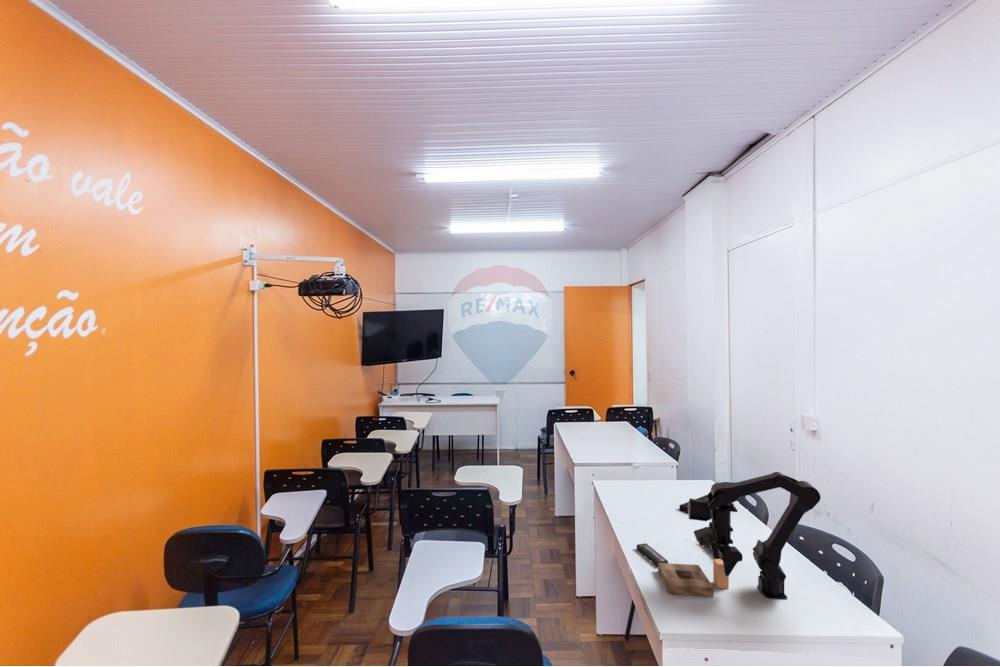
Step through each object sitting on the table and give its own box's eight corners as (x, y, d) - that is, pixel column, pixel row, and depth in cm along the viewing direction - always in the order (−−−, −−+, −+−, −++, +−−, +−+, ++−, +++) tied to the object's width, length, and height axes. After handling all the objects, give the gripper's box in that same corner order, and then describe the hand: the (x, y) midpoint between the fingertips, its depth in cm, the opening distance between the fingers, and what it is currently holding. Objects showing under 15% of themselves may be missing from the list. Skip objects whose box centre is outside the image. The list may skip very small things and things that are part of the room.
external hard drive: (679, 511, 213) (679, 504, 213) (706, 500, 226) (706, 494, 226) (707, 521, 202) (707, 514, 202) (733, 509, 215) (733, 503, 215)
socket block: (698, 573, 158) (698, 564, 158) (713, 596, 144) (713, 587, 144) (658, 571, 159) (658, 562, 159) (669, 594, 145) (669, 585, 145)
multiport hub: (658, 569, 161) (658, 563, 161) (636, 550, 175) (636, 544, 175) (668, 567, 162) (668, 561, 162) (646, 548, 176) (646, 543, 176)
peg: (724, 582, 152) (724, 559, 152) (728, 588, 148) (728, 564, 148) (713, 582, 152) (713, 558, 152) (717, 588, 149) (717, 564, 149)
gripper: (687, 510, 160) (687, 553, 160) (706, 533, 142) (706, 582, 142) (719, 511, 159) (719, 554, 159) (743, 535, 141) (743, 584, 141)
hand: (721, 568), depth 150 cm, fingers open, 9 cm apart
